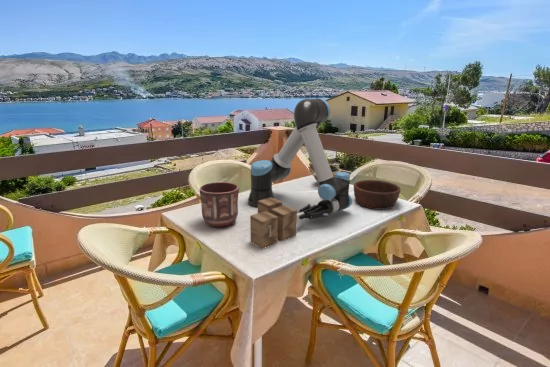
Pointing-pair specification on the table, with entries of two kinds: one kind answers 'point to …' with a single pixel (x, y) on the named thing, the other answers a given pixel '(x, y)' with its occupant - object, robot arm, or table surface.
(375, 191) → the wooden bowl
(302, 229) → the table surface
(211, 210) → the pottery
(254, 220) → the walnut block marked 1
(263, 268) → the table surface
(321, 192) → the robot arm
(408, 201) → the table surface
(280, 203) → the walnut block marked 2
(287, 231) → the brown wooden block
